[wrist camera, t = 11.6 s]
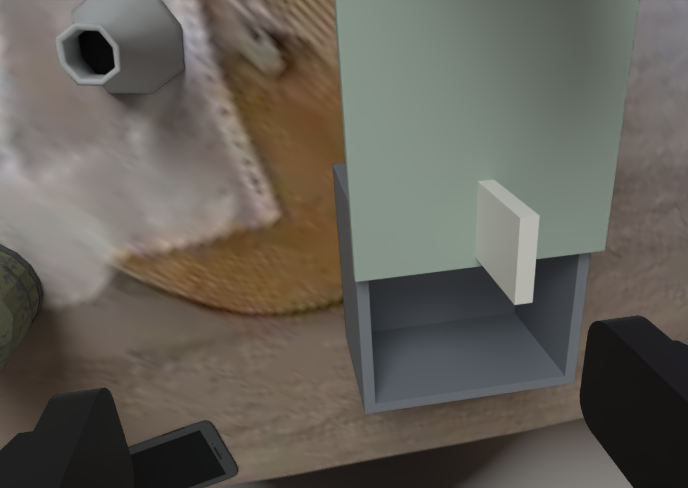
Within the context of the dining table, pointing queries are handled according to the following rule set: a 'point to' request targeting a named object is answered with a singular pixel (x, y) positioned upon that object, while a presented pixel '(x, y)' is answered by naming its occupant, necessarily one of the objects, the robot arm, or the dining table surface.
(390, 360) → the carton
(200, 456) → the cell phone
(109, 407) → the robot arm
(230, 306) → the dining table surface
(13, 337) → the thermos
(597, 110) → the lid
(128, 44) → the flask
